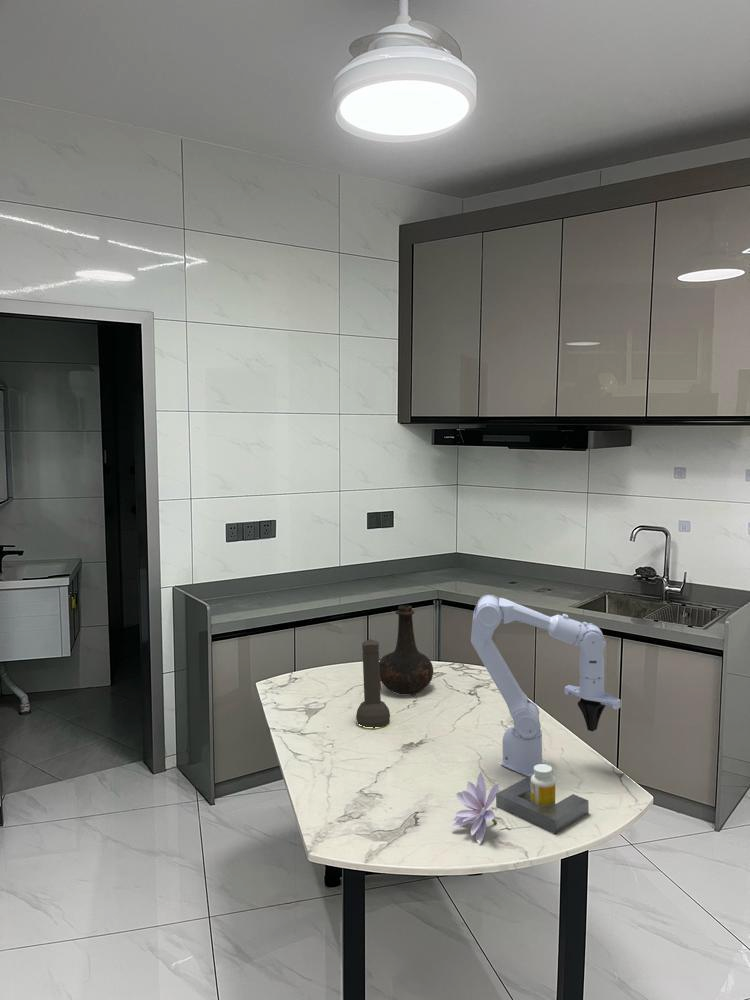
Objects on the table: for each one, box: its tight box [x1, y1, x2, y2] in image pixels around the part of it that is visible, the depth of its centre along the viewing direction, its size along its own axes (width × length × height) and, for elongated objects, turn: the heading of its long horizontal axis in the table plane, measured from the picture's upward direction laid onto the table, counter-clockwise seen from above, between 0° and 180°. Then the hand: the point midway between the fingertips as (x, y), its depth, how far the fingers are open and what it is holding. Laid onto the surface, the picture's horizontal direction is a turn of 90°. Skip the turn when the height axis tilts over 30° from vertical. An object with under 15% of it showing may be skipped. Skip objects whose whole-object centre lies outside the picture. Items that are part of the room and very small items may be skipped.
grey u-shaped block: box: [495, 776, 590, 835], centre depth 166 cm, size 16×12×3 cm
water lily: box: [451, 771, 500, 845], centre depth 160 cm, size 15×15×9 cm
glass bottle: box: [379, 604, 434, 695], centre depth 243 cm, size 18×18×28 cm
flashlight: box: [355, 638, 391, 728], centre depth 217 cm, size 10×25×10 cm
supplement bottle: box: [531, 763, 556, 809], centre depth 166 cm, size 5×5×10 cm
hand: (592, 729), depth 183 cm, fingers closed
